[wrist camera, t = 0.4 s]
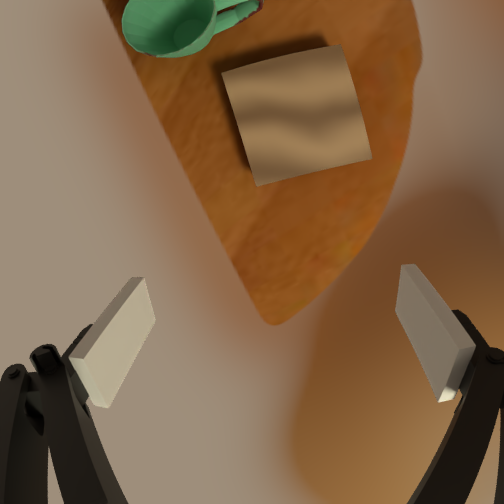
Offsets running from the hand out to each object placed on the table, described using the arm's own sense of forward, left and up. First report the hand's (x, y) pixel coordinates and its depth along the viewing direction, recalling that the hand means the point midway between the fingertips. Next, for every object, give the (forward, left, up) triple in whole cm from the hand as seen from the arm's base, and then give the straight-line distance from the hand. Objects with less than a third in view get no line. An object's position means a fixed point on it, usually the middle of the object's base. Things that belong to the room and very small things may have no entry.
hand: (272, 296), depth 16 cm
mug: (-23, -2, -26) cm, 35 cm away
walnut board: (-9, +5, -26) cm, 28 cm away
